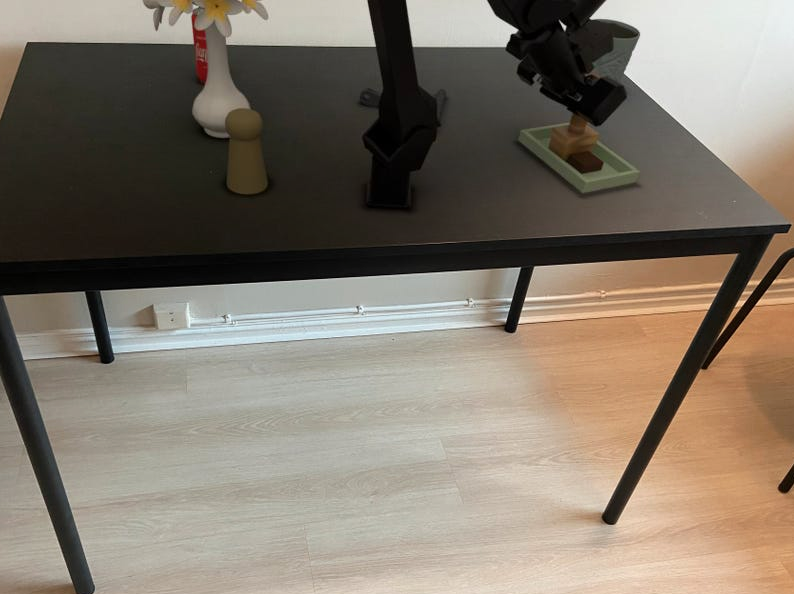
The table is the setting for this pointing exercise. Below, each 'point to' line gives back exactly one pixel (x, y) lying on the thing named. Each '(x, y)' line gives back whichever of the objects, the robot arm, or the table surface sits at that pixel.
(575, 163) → the dark brown block
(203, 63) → the beverage can
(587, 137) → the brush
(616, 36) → the grey-green cup
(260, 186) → the brown pawn
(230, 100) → the flower vase
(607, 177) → the tray
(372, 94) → the bracket
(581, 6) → the robot arm
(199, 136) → the table surface
